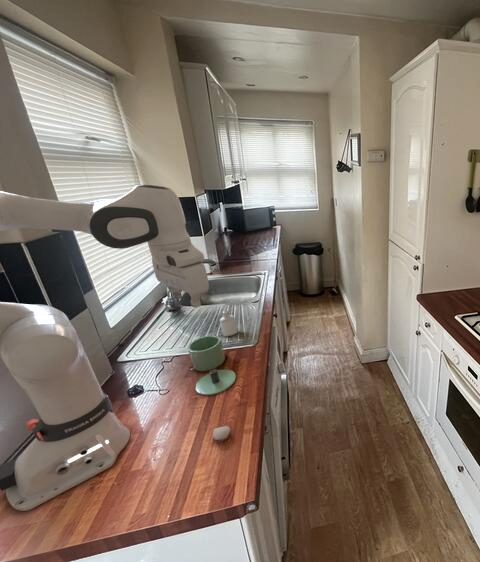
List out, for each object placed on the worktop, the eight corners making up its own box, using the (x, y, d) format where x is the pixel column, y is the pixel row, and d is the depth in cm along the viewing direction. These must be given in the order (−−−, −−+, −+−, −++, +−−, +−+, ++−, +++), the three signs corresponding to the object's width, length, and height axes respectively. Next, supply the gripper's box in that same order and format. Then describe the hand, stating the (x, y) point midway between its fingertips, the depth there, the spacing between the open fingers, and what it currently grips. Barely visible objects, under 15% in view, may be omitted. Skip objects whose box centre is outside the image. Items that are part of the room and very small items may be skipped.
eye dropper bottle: (235, 336, 129) (230, 310, 124) (222, 337, 128) (215, 311, 124) (238, 330, 133) (233, 305, 128) (225, 331, 132) (219, 306, 128)
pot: (203, 375, 105) (197, 355, 102) (188, 365, 111) (181, 346, 108) (231, 360, 113) (226, 340, 110) (215, 351, 119) (210, 332, 115)
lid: (209, 402, 94) (205, 389, 92) (188, 387, 100) (184, 375, 98) (243, 380, 103) (240, 367, 101) (223, 367, 109) (220, 356, 107)
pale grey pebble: (220, 446, 79) (218, 439, 78) (208, 438, 81) (206, 431, 80) (234, 434, 83) (232, 427, 82) (222, 426, 85) (220, 420, 84)
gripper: (139, 249, 79) (155, 298, 84) (180, 262, 69) (195, 316, 74) (166, 244, 84) (179, 290, 89) (207, 254, 73) (219, 306, 79)
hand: (186, 302), depth 81 cm, fingers open, 8 cm apart
